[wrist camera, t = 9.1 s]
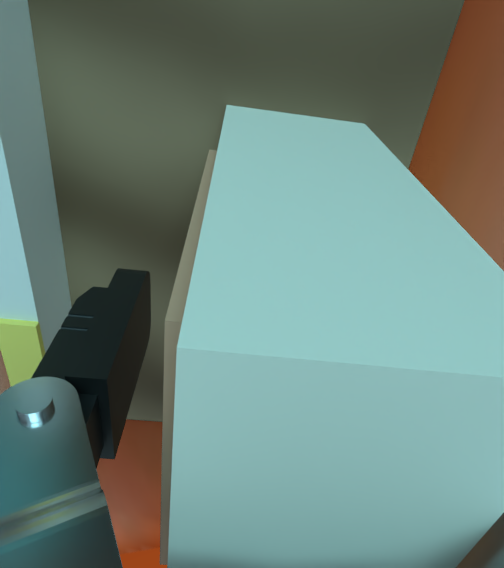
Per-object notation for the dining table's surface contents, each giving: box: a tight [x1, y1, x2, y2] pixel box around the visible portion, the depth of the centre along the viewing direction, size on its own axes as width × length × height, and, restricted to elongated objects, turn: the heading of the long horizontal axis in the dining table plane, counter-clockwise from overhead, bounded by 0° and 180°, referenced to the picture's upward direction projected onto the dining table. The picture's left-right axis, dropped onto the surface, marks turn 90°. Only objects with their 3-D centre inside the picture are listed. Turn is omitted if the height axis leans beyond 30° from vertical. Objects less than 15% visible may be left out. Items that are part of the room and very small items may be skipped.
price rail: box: [0, 0, 72, 387], centre depth 13 cm, size 20×1×3 cm, turn 173°
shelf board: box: [28, 0, 464, 422], centre depth 15 cm, size 20×12×1 cm, turn 173°
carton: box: [160, 105, 504, 568], centre depth 10 cm, size 4×8×10 cm, turn 172°
